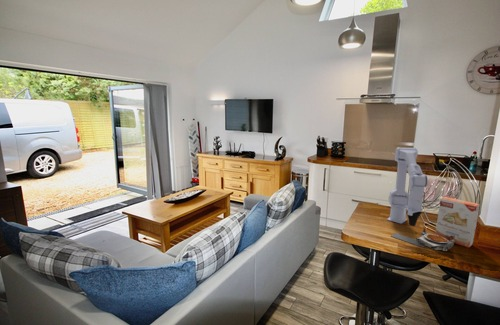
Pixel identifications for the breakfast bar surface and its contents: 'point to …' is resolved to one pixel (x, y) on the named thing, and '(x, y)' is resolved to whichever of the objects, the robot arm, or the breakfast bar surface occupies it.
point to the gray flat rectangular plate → (407, 239)
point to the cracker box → (457, 220)
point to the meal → (435, 241)
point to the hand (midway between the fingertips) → (412, 225)
